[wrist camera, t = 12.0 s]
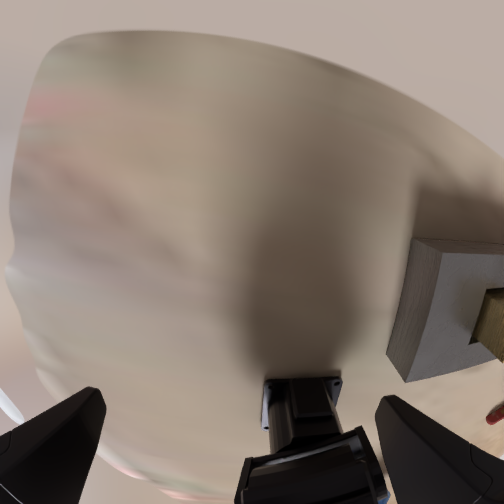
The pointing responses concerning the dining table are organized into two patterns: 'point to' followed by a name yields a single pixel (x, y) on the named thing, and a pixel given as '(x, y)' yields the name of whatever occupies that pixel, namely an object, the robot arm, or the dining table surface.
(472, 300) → the grey block with hole
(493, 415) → the pliers
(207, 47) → the dining table surface
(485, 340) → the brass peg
